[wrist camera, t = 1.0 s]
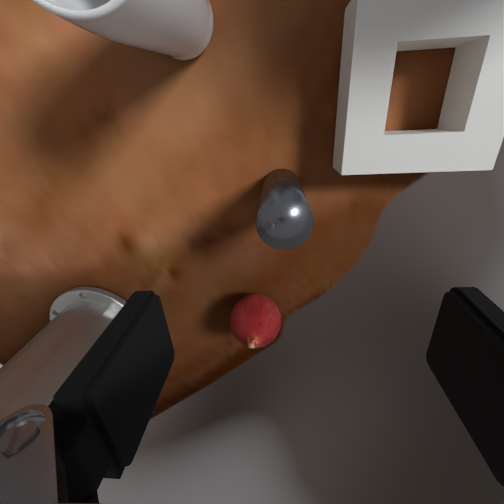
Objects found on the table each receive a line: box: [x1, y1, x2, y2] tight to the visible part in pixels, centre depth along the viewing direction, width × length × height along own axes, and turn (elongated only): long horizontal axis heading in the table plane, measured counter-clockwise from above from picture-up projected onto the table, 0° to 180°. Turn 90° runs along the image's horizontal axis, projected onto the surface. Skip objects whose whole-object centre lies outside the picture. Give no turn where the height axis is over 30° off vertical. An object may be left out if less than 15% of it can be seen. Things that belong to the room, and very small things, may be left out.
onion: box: [230, 293, 281, 348], centre depth 31 cm, size 6×6×8 cm
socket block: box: [332, 0, 504, 175], centre depth 22 cm, size 12×12×4 cm
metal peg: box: [256, 169, 313, 249], centre depth 24 cm, size 4×4×10 cm
